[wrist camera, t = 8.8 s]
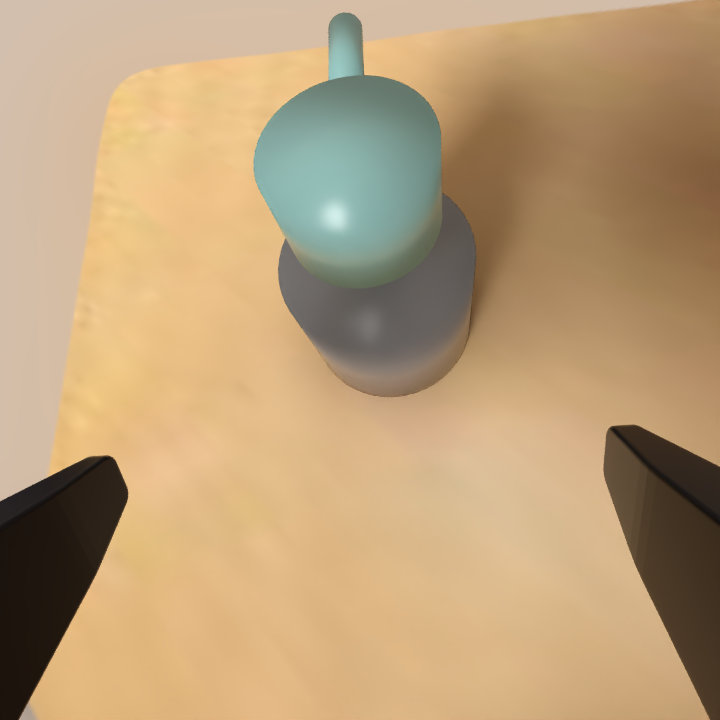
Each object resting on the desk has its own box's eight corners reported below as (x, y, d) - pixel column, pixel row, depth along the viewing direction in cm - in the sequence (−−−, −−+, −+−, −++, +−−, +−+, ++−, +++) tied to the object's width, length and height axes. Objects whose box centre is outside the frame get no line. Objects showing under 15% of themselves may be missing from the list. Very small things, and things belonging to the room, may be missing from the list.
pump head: (449, 309, 16) (449, 214, 11) (305, 323, 16) (248, 239, 12) (431, 134, 18) (426, -4, 14) (307, 152, 19) (262, 27, 14)
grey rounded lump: (477, 391, 21) (487, 340, 15) (317, 402, 22) (274, 358, 16) (461, 249, 23) (465, 163, 18) (317, 265, 24) (281, 189, 19)
